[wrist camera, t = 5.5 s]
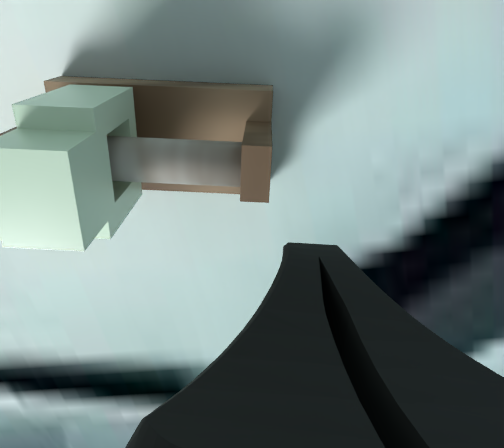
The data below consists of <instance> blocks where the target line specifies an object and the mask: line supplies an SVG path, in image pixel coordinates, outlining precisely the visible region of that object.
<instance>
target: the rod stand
mask: <svg viewBox="0 0 504 448" xmlns="http://www.w3.org/2000/svg"><path fill="white" fill-rule="evenodd" d="M70 84H72V85H95V86H118V87H133V98H134V109H135V120H136V131H137V137H121V136H108V135H107V143H108V151H109V159H110V167H111V175H112V181H124V182H141V186H142V190H163V191H185V192H206V193H227V194H240V201H244V202H266V203H269V191H270V174H271V158H272V130H271V117H272V99H273V85H253V84H230V83H207V82H184V81H161V80H138V79H115V78H92V77H69V76H60V77H56V78H53V79H49V80H46V81H44V85H45V91H46V93H47V92H49V91H52V90H55V89H58V88H61V87H64V86H67V85H70ZM14 129H17V127H15V128H12V129H10V130H8V131H6V132H3V133H1V134H0V136H1V135H3V134H5V133H8V132H10V131H12V130H14Z"/></svg>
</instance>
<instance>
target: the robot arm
mask: <svg viewBox="0 0 504 448" xmlns="http://www.w3.org/2000/svg"><path fill="white" fill-rule="evenodd" d="M126 448H504V377H502V376H500V375H499V374H497V373H495V372H494V371H492V370H490V369H489V368H487V367H485V366H484V365H482V364H480V363H479V362H477V361H475V360H474V359H472V358H471V357H469V356H467V355H466V354H464V353H462V352H461V351H459V350H458V349H456V348H455V347H453V346H452V345H450V344H449V343H447V342H446V341H445V340H443V339H442V338H440V337H439V336H438V335H436V334H435V333H433V332H432V331H431V330H429V329H428V328H426V327H425V326H424V325H422V324H421V323H420V322H418V321H417V320H416V319H415V318H413V317H412V316H411V315H410V314H408V313H407V312H406V311H405V310H404V309H403V308H401V307H400V306H399V305H398V304H397V303H395V302H394V301H393V300H392V299H391V298H390V297H389V296H388V295H386V294H385V293H384V292H383V291H382V290H381V289H380V288H379V287H378V286H377V285H376V284H375V283H374V282H373V281H372V280H371V279H370V278H369V277H368V276H367V275H366V274H365V273H364V272H363V271H362V270H361V269H360V268H359V267H358V266H357V265H356V264H355V263H354V262H353V261H352V260H351V259H350V258H349V257H348V256H347V255H346V254H345V253H344V252H343V251H342V250H341V249H340V248H339V247H338V246H337V245H323V244H306V243H289V242H288V243H287V244H286V245H285V246H284V247H283V257H282V262H281V265H280V268H279V270H278V273H277V275H276V277H275V279H274V281H273V284H272V286H271V287H270V289H269V291H268V293H267V294H266V296H265V298H264V300H263V301H262V303H261V305H260V306H259V308H258V309H257V311H256V312H255V314H254V315H253V317H252V318H251V319H250V321H249V322H248V323H247V325H246V326H245V327H244V329H243V330H242V331H241V332H240V333H239V335H238V336H237V337H236V338H235V339H234V340H233V341H232V343H231V344H230V345H229V346H228V347H227V348H226V349H225V350H224V351H223V353H222V354H221V355H220V356H219V357H218V358H217V359H216V360H215V361H213V362H212V363H211V364H210V365H209V366H208V367H207V368H206V369H205V370H204V371H203V372H201V373H200V374H199V375H198V376H197V377H196V378H195V379H194V380H193V381H192V382H190V383H189V384H188V385H187V386H186V387H184V388H183V389H182V390H181V391H179V392H178V393H177V394H175V395H174V396H173V397H171V398H170V399H169V400H167V401H166V402H165V403H163V404H162V405H161V406H159V407H158V408H157V409H155V410H154V411H153V412H151V413H150V414H149V415H147V416H146V417H144V418H143V419H142V420H141V422H140V424H139V425H138V427H137V428H136V430H135V432H134V434H133V435H132V437H131V439H130V441H129V442H128V444H127V446H126Z"/></svg>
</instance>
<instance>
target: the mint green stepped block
mask: <svg viewBox="0 0 504 448" xmlns="http://www.w3.org/2000/svg"><path fill="white" fill-rule="evenodd" d="M12 108H13V112H14V117H15V121H16V126H17V129H14V130H12V131H10V132H8V133H5V134H3V135H1V136H0V240H1V243H2V247H3V248H24V249H44V250H65V251H85V250H86V249H87V247H88V246H89V245H90V244H91V242H92V241H93V240H94V238H96V239H111V238H112V236H113V235H114V234H115V232H116V231H117V229H118V228H119V226H120V225H121V224H122V222H123V221H124V219H125V218H126V216H127V215H128V214H129V212H130V211H131V209H132V208H133V207H134V205H135V204H136V202H137V201H138V199H139V198H140V197H141V195H142V186H141V182H124V181H112V175H111V167H110V159H109V151H108V143H107V135H108V136H121V137H137V131H136V120H135V109H134V98H133V87H118V86H95V85H72V84H70V85H67V86H64V87H61V88H58V89H55V90H52V91H49V92H47V93H44V94H41V95H38V96H35V97H32V98H29V99H26V100H23V101H21V102H18V103H15V104H12Z"/></svg>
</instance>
